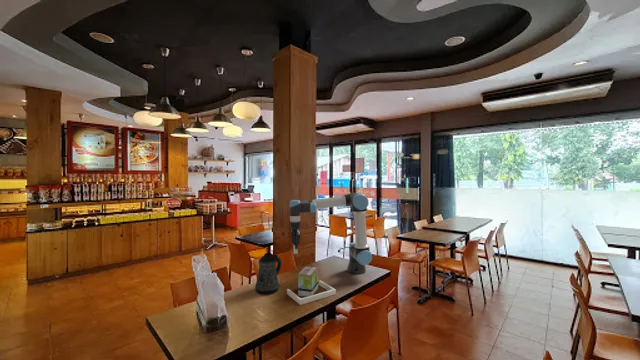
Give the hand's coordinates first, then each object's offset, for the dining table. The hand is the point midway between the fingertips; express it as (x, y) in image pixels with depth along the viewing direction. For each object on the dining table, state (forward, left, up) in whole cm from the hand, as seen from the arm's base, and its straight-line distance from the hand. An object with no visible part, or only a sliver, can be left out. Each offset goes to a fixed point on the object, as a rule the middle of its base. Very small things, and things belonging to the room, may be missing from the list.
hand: (295, 253), depth 198 cm
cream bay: (0, +22, -22) cm, 31 cm away
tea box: (0, +18, -22) cm, 29 cm away
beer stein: (+21, -1, -22) cm, 31 cm away
